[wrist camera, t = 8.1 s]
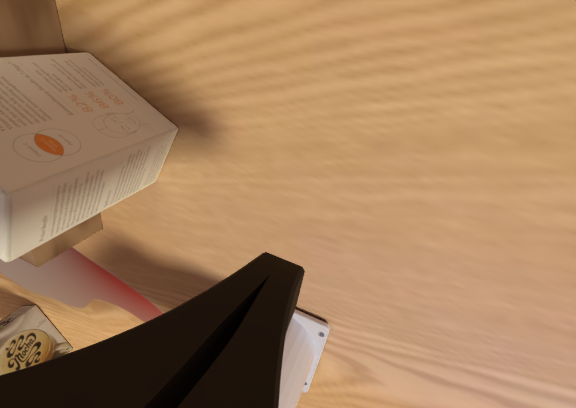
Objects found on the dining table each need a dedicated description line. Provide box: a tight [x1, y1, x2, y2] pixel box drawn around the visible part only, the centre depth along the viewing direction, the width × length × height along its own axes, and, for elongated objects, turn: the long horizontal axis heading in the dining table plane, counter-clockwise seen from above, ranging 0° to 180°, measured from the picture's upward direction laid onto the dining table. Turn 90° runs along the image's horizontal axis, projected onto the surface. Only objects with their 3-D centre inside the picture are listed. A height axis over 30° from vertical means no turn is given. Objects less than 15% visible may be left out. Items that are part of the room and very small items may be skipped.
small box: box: [0, 52, 178, 262], centre depth 18 cm, size 8×6×10 cm
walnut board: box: [0, 0, 103, 267], centre depth 21 cm, size 24×2×6 cm, turn 171°
